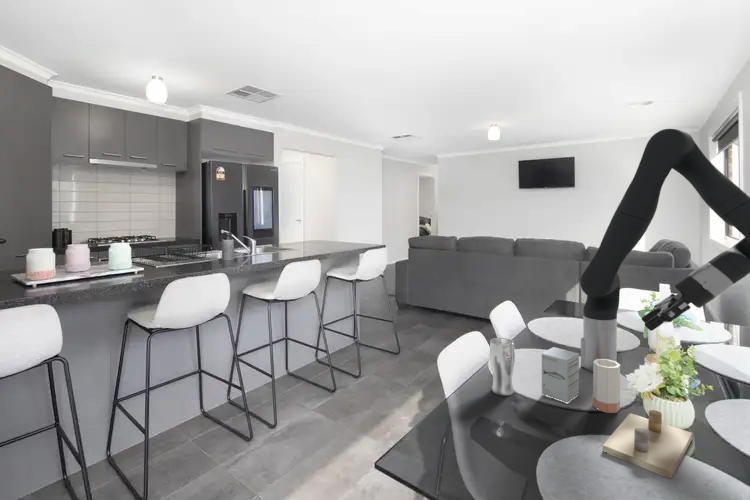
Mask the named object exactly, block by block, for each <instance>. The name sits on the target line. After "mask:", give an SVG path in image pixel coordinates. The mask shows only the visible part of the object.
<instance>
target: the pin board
mask: <svg viewBox="0 0 750 500" xmlns="http://www.w3.org/2000/svg"><path fill="white" fill-rule="evenodd" d="M662 415H663V414H662V412H660V411H658V410H654V409H651V410H650V409H649V410H648V418H646V417H644V416H640V415H638V414H633V413H630V412H629V414H628V415H627V416H626V417H625V418H624V419H623V420H622V422H621V423H620V424H619V425H618V427H617V428H616V429H615V430H614V431H613V432H612V434H611V435H610V436H609V437H608V438H607V439H606V440H605V442H604V443H603V444H602V451H603V450H604V451H606V452H607V453H606V454H608V453H609V454H608V455H610V454H612V455H611V456H612V457H615V458H618V459H621V460H622V461H625V462H628V463H630V464H633V465H635V466H637V467H640V468H642V469H645V470H648V471H650V472H652V473H655V474H657V475H660V476H662V477H664V478H665V477H666V478H667V479H670V480H672V479H673V476H674V474H675V473H676V471H677V469H678V468H679V467H678V466H679V464H680V463H681V462H682V459H683V458H684V456H685V453H686V452H687V450H688V448H689V446H690V444H691V442H692V440H693V432H690V431H687V430H685V429H683V428H682V429H681V428H678V427H675V426H673V425H668V424H666V423H662V422H663V419H662V418H663V416H662Z"/></svg>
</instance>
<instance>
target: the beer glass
mask: <svg viewBox="0 0 750 500" xmlns="http://www.w3.org/2000/svg"><path fill="white" fill-rule="evenodd" d="M489 341H490V342H489V343H490V344H489V361H490V367H491V373H492V378H493V379H492V380H493V382H492V387H491V390H492V393H494V394H495V395H498V396H502V397H506V396H512V395H513V394H514V392H515V389H514V385H513V377H514V371H515V370H514V369H515V362H516V351H515V341H514V340H513V339H511V338H508V337H507V338H506V337H494V338H491V339H490V340H489Z"/></svg>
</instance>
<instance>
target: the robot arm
mask: <svg viewBox="0 0 750 500" xmlns="http://www.w3.org/2000/svg"><path fill="white" fill-rule="evenodd" d="M637 166H638V167H637V169H636V171H635V173H634V176H633V178H632V179H631V182H630V183H629V186H628V187H627V189H626V191H625V192H624V195H623V197H622V199H621V200H620V202H619V203H618V206H617V207H616V210H615V212H614V214H613V216H612V217H611V219H610V222H609V223H608V226H607V228H606V231H605V233H604V235H603V237H602V240H601V243H600V245H599V247H598V249H597V250H596V253H595V254H594V256H593V257H592V258H591V261H590V262H589V263H588V265H587V267H586V268H585V270H584V271H583V273H582V274H581V276H580V279H579V280H580V281H579V282H580V283H579V284H580V289H581V290H582V292H583V293H584V294H585V295H586V301H585V303H584V306H583V309H582V314H583V321H582V322H583V323H582V325H583V327H582V328H583V329H582V330H583V331H582V332H583V334H582V336H583V337H581V338H580V367H581V368H583V367H584V368H583V369H585V370H587V371H589V372H592V373H593V361H595V360H596V359H608V360H612V361H616V362H617V356H618V355H617V353H618V352H617V351H618V349H617V347H618V346H617V345H618V343H617V342H618V341H617V340H618V339H617V338H618V330H617V329H618V310H619V308H620V307H619V306H620V292H621V291H620V289H621V280H620V276H619V274H618V272H619V269H620V268H621V266H622V264H623V262H624V260H626V257H628V255H629V254H630V253H631V252H632V251H633V250H634V248H635V247H636V245H638V243H639V242H640V240H641V239H642V238H643V236H644V235H645V234H646V232H647V230H648V228H649V227H650V225H651V223H652V220H654V219H653V218H654V217H655V214H656V211H657V208H658V205H659V202H660V201H659V199H660V195H661V191H662V187H663V185H664V183H665V181H666V180H667V177H668V176H669V174H670V172H671V171H672V170H674V171H675V172H677V173H679V174H680V175H681V176H682V177H683V178H685V180H687V181H688V182H689V183H690V185H691V186H692V187H693V188H694V189H695V191H696V193H698V195H699V196H700V198H701V199H702V201H703V202H704V203H705V204H706V205H707V206H708V207H709V208H710V209H711V210H712V211H713V212H714V213H715V214H716V215H717V216H718V217H719V218H720V219H721V220H722V221H723V222H724V223H726V224H727V225H728V226H731V227H733V228H735V229H736V230H738V232H740V234H741V235H742V236H743V237H744V238H741V240H739V241H738V242H737V243H735V244H734V245H733V246H732V247H730V248H729V249H726V250H724V251H723V252H721V253H719V254H717V255H715V257H713V258H712V259H711V260H709V261H707V263H705V264H703V265H701V266H699V267H697V268H696V269H695V270H693V271H692V272H690V273H689V274H687V275H686V276H684V277H683V278H682V279H680V280H679V281H678V282H676V283H675V284H673V288H674V289H675V290H676V291H677V292H678V293H677V294H674V293H671V294H670V295H669V296H667V297H665V298H664V299H662V300H661V301H660V302H658V303H657V304H655V305H653V308H652V310H651V311H649V312H648V313H646V314H645V315H643V316H642V317H641V320H642V322H644V326H645V327H646V329H648V331H654V330H655V329H657V328H659V327H660V326H661V325H664V324H666V323H671V322H672V321H674V320H675V319H677V318H678V317H680V316H681V315H682V314H684V313H685V312H687V311H688V310H690V309H691V306H690V304H692V305H693V306H694V307H696V308H698V309H699V308H702V307H704V306H705V305H706V304H708V303H710V302H711V301H713V300H715V298H717V297H718V296H721V294H723V293H725V292H726V291H727V290H729V288H730V287H733V285H735V284H736V283H737V282H739V281H740V280H741V281H742V279H743V278H745V277H746V276H747V275H749V274H750V196H749V195H748V194H747V193H746V192H745V191H744V190H743V189H741V188H740V187H739V186H738V185H737V184H735V183H734V182H733V181H731V179H729V178H728V177H727V176H726V175H724V173H722V171H720V170H719V169H718V168H717V167H716V166H715V165H714V164H713V163H712V162H711V161H710V160H709V159H708V158H707V157H706V156H705V153H703V152H702V150H701V149H700V147H699V146H698V144H697V143H696V142H695V140H694V138H693V137H692V136H691V134H689V133H688V132H685V131H683V130H680V129H677V128H675V127H673V128H672V127H670V128H669V127H668V128H667V127H666V128H663V129H661V130H659V131H657V132H656V133H654V134H653V135H652V136H651V137H650V138H649V140H648V141H647V143H646V146H645V148H644V151H643V153H642V156H641V158H640V161H639V163H638V165H637Z"/></svg>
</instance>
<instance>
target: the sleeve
mask: <svg viewBox="0 0 750 500" xmlns="http://www.w3.org/2000/svg"><path fill="white" fill-rule="evenodd" d="M592 373H593V374H592V377H593V378H592V380H593V381H592V406H593V405H594V406H595V407H596V408H598V409H599V410H598V411H600V410H601V411H600V412H603V413H607V414H617V413H618V412H619V411H620V409H621V363H619V362H617V360H616V361H612V360H608V359H596V360H595V361H593V372H592ZM594 406H593V407H594ZM595 407H594V408H595ZM596 408H595V409H596Z"/></svg>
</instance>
